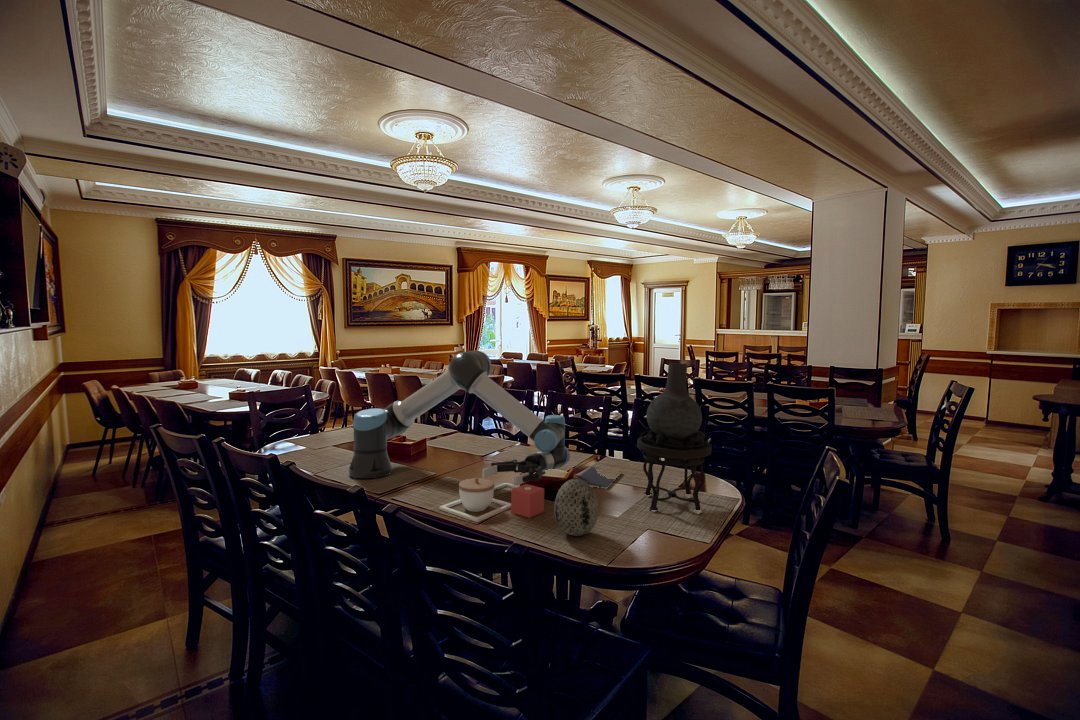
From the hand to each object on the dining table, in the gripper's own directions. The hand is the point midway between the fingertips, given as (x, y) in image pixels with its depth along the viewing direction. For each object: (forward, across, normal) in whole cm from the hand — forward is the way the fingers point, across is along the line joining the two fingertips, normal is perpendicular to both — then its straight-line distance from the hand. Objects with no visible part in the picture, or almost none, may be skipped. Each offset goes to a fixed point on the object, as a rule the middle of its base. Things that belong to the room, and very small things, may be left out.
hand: (498, 477), depth 159 cm
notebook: (-40, -14, -8) cm, 43 cm away
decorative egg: (+7, -34, -8) cm, 36 cm away
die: (+2, -14, -7) cm, 16 cm away
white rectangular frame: (+2, 0, -7) cm, 8 cm away
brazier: (-32, -45, -8) cm, 56 cm away
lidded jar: (+10, 0, -7) cm, 12 cm away
